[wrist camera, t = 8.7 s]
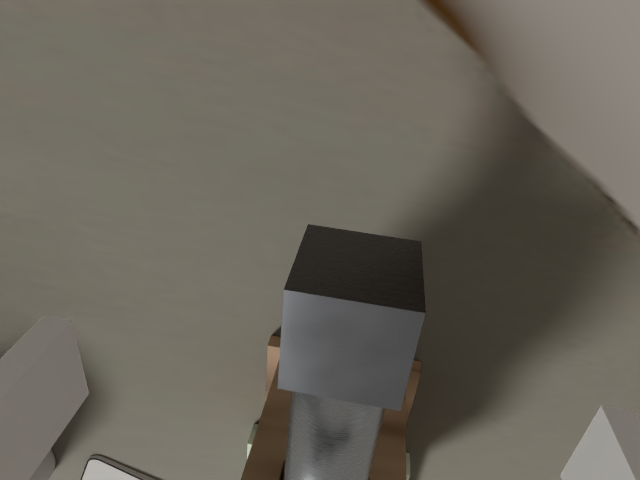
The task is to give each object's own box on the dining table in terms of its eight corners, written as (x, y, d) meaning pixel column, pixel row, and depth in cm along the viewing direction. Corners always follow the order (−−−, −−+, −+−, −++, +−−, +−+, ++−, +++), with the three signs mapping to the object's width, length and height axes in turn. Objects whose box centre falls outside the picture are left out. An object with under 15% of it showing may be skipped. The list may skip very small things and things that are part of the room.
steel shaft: (307, 224, 17) (283, 289, 13) (421, 241, 17) (425, 313, 13) (280, 531, 27) (263, 613, 24) (350, 546, 27) (342, 632, 23)
